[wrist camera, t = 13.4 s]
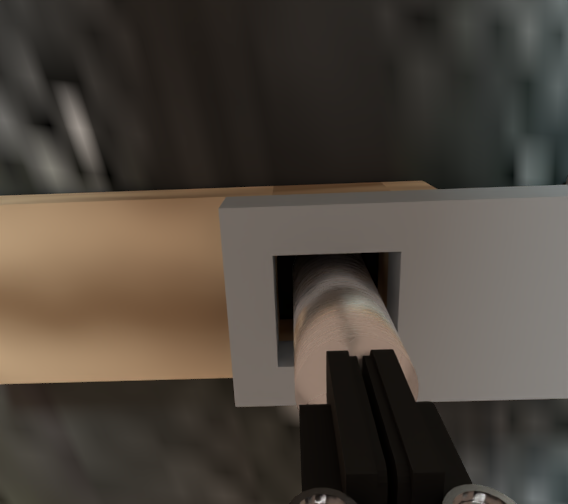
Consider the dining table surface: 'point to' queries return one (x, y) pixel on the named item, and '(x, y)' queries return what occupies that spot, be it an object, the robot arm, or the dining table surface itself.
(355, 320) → the pin
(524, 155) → the dining table surface
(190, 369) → the link
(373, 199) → the link
